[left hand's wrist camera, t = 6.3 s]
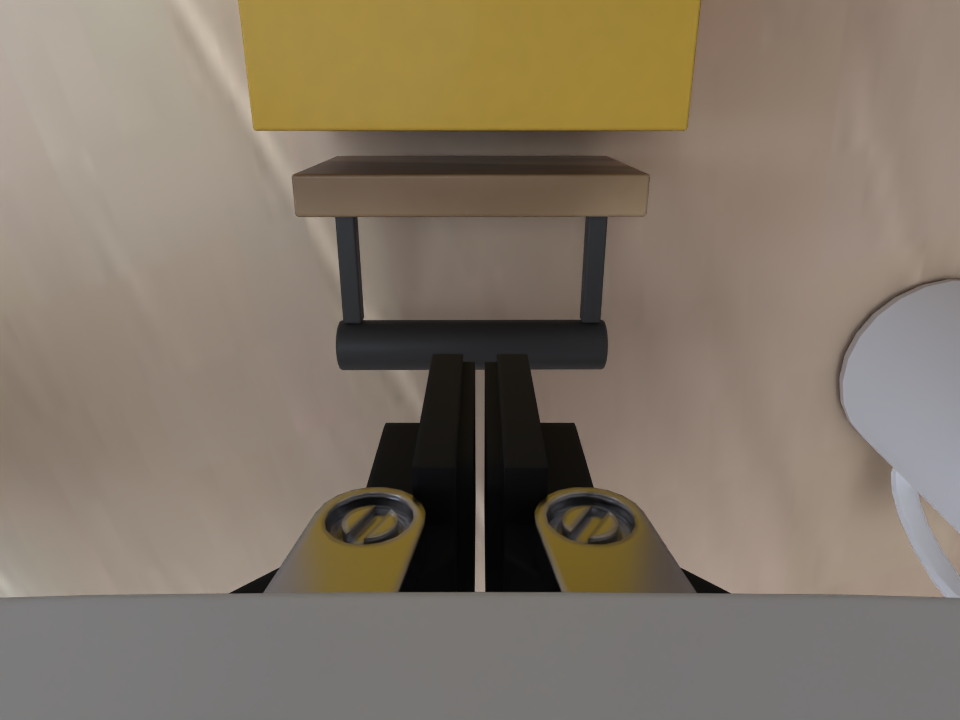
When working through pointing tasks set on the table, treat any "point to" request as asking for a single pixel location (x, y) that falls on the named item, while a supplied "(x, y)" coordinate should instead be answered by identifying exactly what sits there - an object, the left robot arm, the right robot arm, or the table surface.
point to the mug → (913, 410)
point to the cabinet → (469, 64)
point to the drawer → (470, 193)
